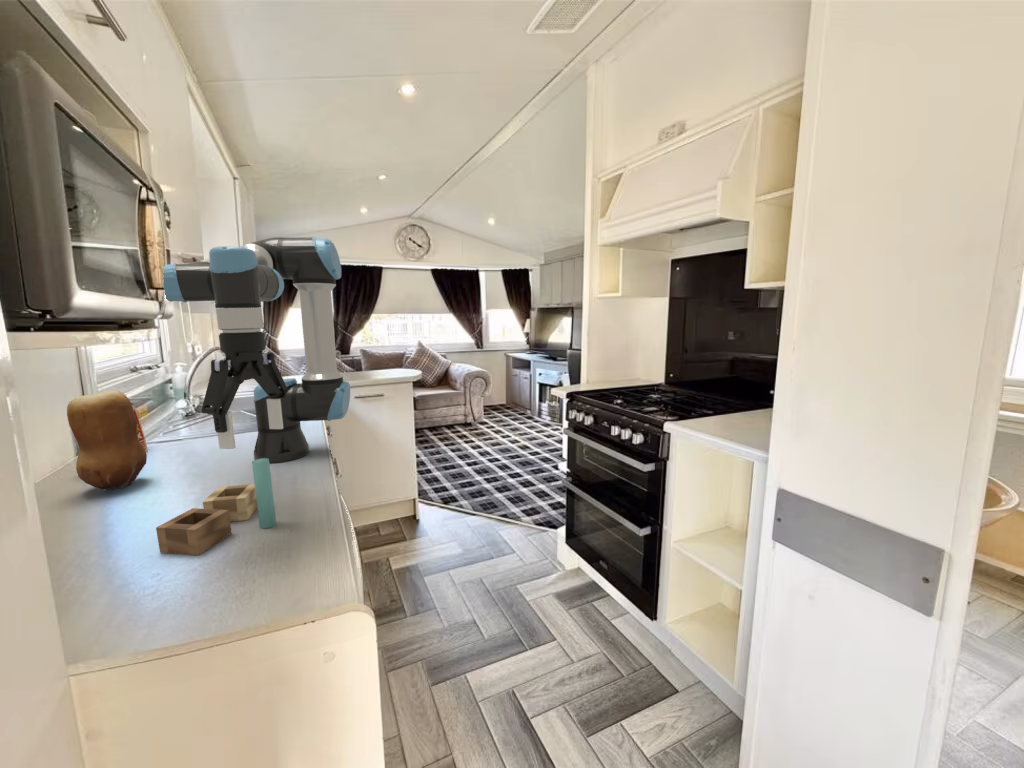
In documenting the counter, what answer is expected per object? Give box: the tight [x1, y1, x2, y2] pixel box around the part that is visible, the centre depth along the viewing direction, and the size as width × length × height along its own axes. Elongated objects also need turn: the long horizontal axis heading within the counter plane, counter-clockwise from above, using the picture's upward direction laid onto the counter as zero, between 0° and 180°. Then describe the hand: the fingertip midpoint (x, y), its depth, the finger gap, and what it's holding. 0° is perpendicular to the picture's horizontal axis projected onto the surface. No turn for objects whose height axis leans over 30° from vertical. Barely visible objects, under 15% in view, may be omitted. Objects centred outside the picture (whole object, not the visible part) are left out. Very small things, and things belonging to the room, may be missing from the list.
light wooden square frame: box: [202, 483, 258, 522], centre depth 96 cm, size 8×8×5 cm
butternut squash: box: [66, 390, 148, 492], centre depth 110 cm, size 14×13×25 cm
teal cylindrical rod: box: [251, 458, 277, 530], centre depth 90 cm, size 3×3×14 cm
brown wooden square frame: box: [155, 507, 233, 556], centre depth 84 cm, size 8×8×5 cm
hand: (253, 437), depth 88 cm, fingers open, 13 cm apart
